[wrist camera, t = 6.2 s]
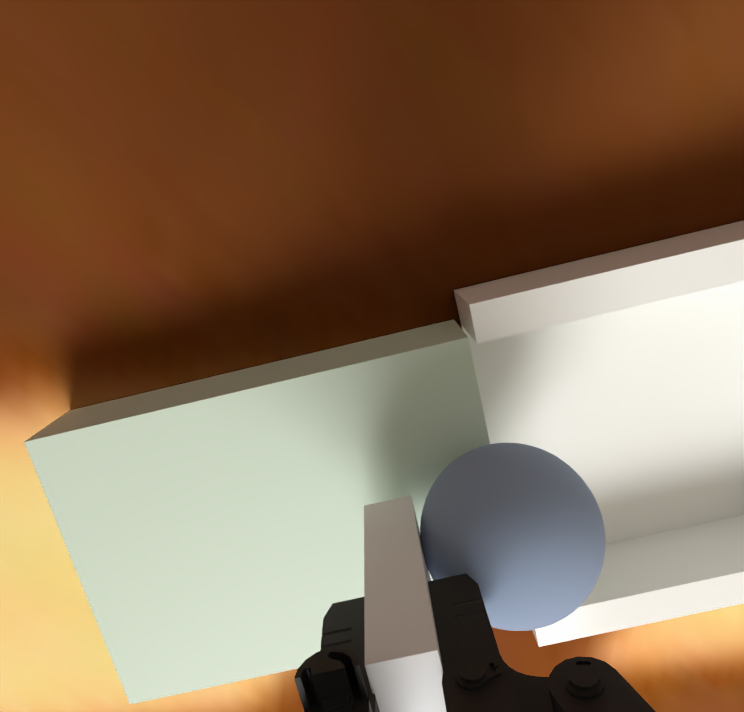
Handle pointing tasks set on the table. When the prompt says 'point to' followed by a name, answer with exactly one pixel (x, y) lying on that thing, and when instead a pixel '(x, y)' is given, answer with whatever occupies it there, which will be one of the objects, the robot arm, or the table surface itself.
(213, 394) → the board
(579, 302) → the tray
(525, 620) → the ball
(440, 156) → the table surface
